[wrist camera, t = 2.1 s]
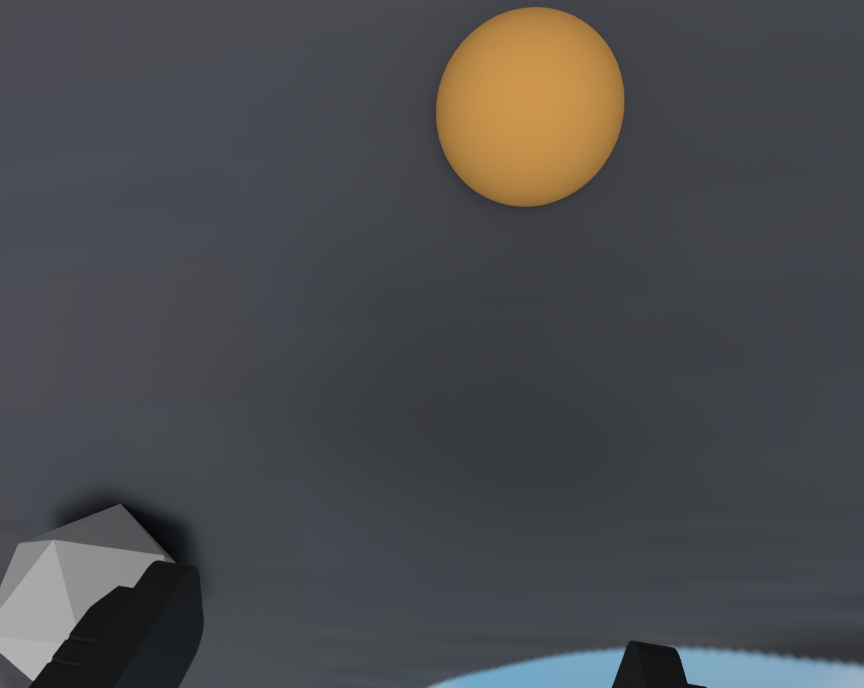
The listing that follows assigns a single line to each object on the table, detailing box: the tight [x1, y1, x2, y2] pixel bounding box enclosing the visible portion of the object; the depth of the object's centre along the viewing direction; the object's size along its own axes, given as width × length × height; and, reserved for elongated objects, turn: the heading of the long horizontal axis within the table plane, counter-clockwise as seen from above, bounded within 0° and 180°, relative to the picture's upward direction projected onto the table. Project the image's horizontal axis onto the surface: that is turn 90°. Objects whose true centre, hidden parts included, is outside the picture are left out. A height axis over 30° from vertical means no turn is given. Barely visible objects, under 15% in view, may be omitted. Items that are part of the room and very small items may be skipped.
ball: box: [436, 7, 625, 207], centre depth 19 cm, size 6×6×6 cm
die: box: [0, 504, 176, 681], centre depth 31 cm, size 8×9×10 cm
